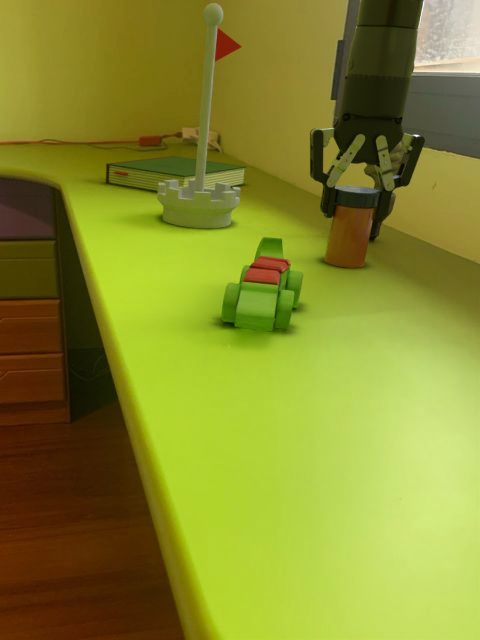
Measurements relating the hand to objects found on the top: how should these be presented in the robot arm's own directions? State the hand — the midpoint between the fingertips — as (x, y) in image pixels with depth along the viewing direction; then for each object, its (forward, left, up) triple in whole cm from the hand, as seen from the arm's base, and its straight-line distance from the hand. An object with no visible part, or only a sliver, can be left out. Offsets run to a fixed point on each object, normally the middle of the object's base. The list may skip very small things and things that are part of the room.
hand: (351, 217), depth 89 cm
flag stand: (+19, -22, -6) cm, 30 cm away
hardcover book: (+22, -59, -6) cm, 63 cm away
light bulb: (-7, -15, -6) cm, 17 cm away
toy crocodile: (+14, +24, -6) cm, 28 cm away
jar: (0, 0, -6) cm, 6 cm away
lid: (0, 0, +3) cm, 3 cm away
